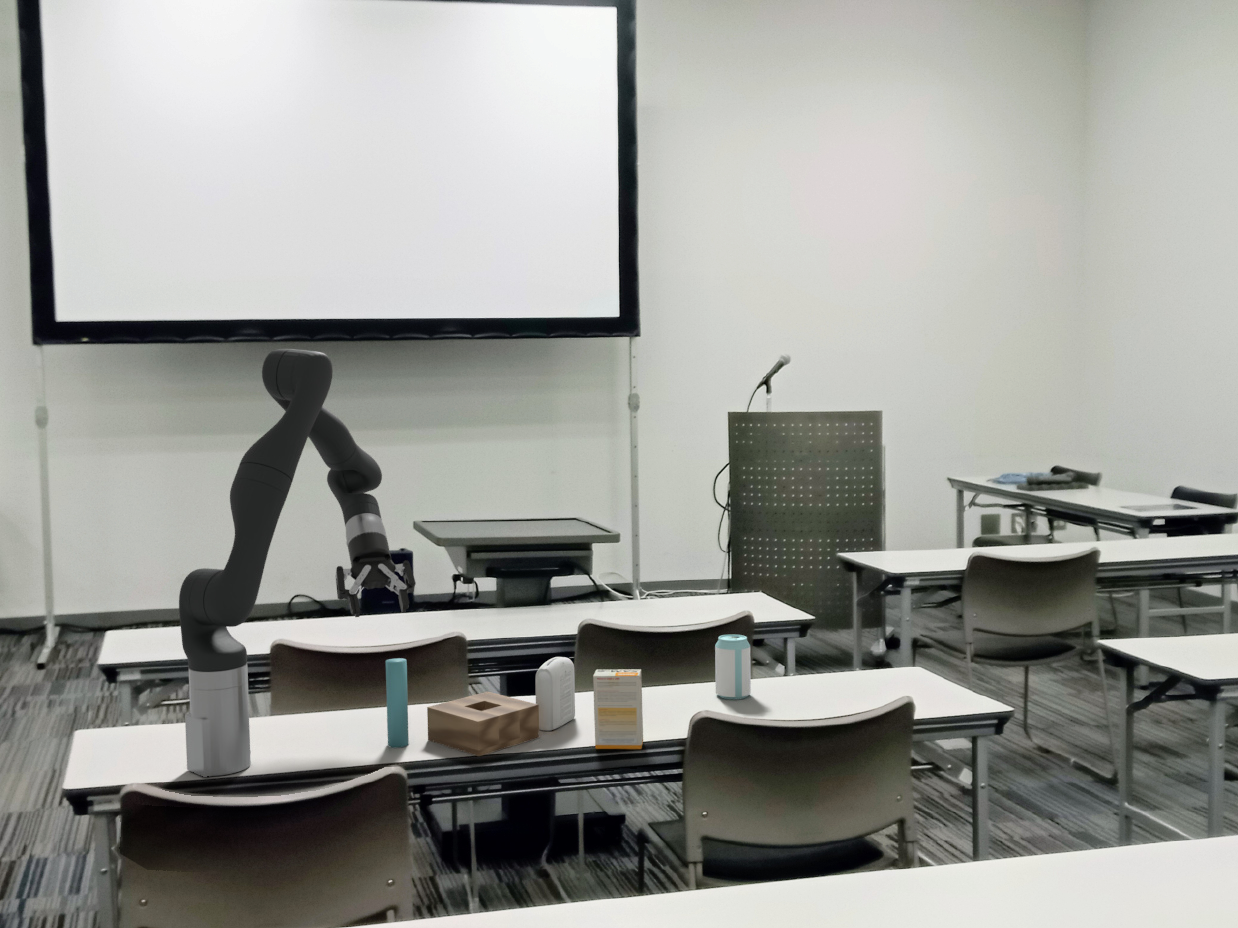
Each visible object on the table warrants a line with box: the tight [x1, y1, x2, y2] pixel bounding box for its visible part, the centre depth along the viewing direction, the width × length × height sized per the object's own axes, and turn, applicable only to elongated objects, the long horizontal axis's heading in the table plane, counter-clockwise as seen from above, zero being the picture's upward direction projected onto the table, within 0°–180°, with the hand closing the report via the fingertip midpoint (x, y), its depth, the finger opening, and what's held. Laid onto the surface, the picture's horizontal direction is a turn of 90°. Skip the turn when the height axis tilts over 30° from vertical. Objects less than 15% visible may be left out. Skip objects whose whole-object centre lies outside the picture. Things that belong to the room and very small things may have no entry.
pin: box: [385, 657, 410, 749], centre depth 203 cm, size 4×4×15 cm
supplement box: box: [592, 668, 644, 750], centre depth 201 cm, size 8×5×13 cm, turn 84°
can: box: [714, 634, 752, 700], centre depth 233 cm, size 7×7×12 cm
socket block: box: [426, 691, 540, 757], centre depth 206 cm, size 14×14×6 cm
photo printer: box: [535, 656, 576, 732], centre depth 215 cm, size 10×4×12 cm, turn 157°
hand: (381, 612), depth 212 cm, fingers open, 8 cm apart
